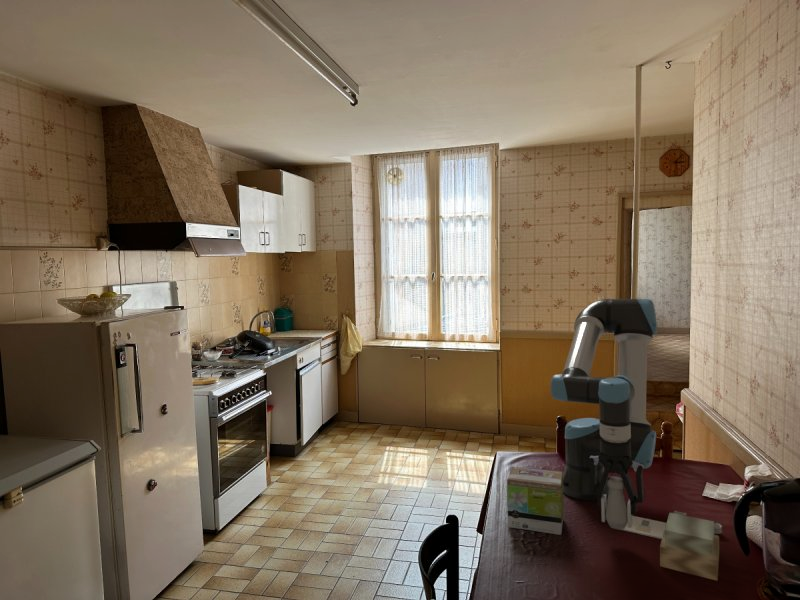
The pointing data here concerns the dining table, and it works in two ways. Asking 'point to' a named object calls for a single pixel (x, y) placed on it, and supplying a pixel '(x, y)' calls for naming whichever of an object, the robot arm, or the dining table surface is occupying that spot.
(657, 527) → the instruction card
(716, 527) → the toy set
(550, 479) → the tea box
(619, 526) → the salt shaker
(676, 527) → the zigzag patterned box
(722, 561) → the dining table surface
